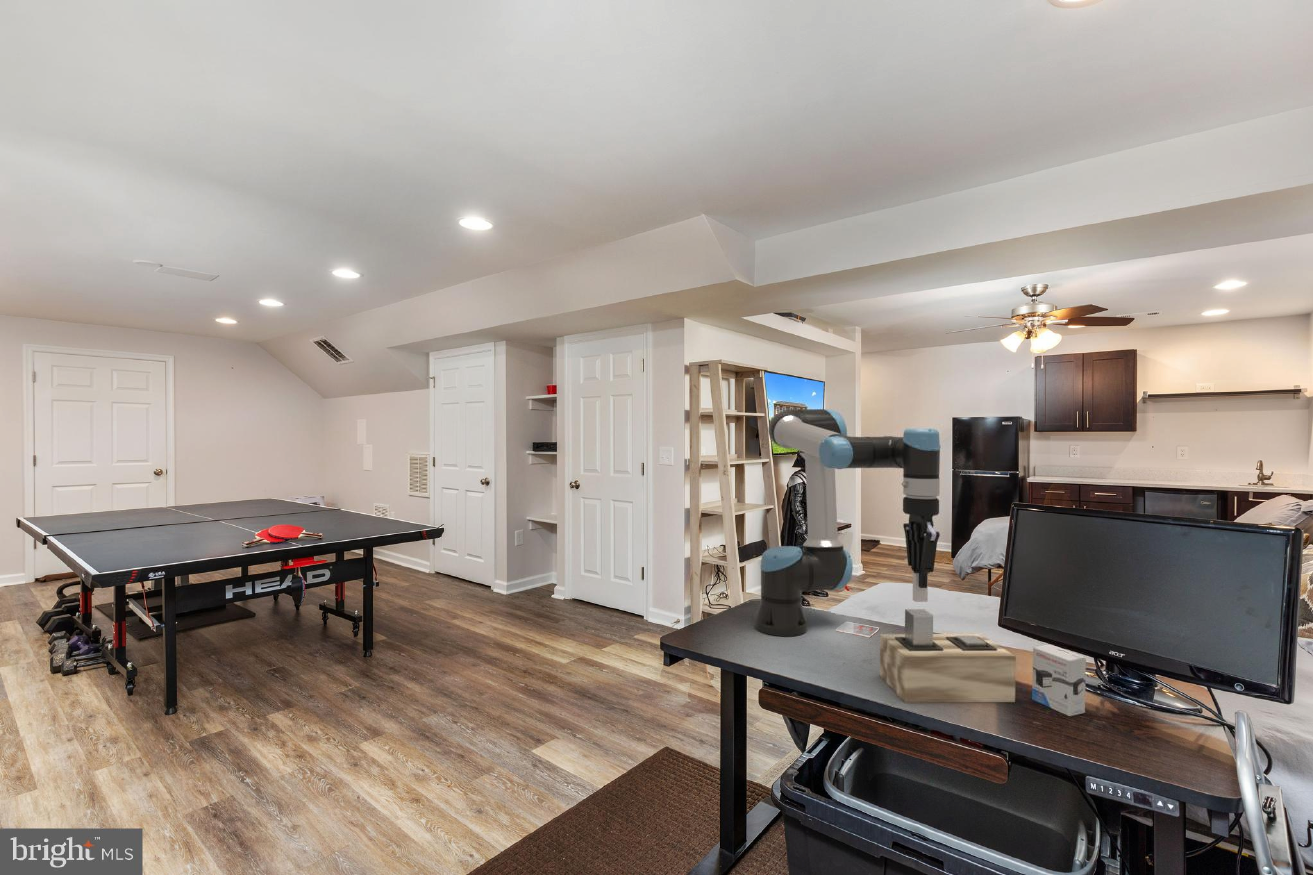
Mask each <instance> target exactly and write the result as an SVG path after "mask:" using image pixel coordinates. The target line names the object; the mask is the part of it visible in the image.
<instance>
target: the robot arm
mask: <svg viewBox="0 0 1313 875" xmlns="http://www.w3.org/2000/svg"><path fill="white" fill-rule="evenodd" d="M768 435H769V438H770V440H771V442H773V444H775V445H777V446H778V447H781V448H783V449H788V450H789V449H795V450H797V451H799V455H800V456H801V457H803V459H804V460H805V462H804V464H805V486H806V487H805V489H806V490H805V491H806V511H807V512H806V514H807V516H806V519H807V540H805V541H804V543H803V544H802V546H803V550H802V549H801V547H799V546H795V545H794V546H792V545H788V546H787V545H782V546H775V547H770V548H769V549H766V550H765V551H764V552H763V553H762V555H761V562H760V601H759V602H760V603H759V605H758V608H757V611H756V614H755V617H754V628H755V629H756V630H757V631H759V632H761V633H763V634H766V635H771V636H779V637H794V636H796V637H797V636H800V635H803V634H805V633H806V632H807V631H808V620H807V617H806V613H805V611H804V608H803V603H802V593H803V592H816V591H817V592H818V591H830V592H832V591H834V590H839V589H841V590H842V589H843V588H845V587H847V585H848V584H849V583H850V581H851V579H852V576H853V566H854V565H853V560H852V558H851V555H850V554H851V553H849V552H848V551H847V550H846V549H844V543H843V542H841V541H840V540H839V536H838V515H837V514H838V512H837V490H836V489H837V488H836V484H837V483H836V470H842V469H843V470H844V469H889V468H891V469H903V471H902V472H903V474H902V477H903V479H902V482H901V486H902V488H903V491H902V492H903V493H902V494H903V495H905V496H904V497H903V498H902V512H903V513H904V514H905V515H909V516H908V522H907V523H905V522H904V523H903V526H902V527H903V531H904V535H905V536H904V537H905V546H906V547H905V548H906V556H907V557H906V558H907V565H908V566H909V567H910V568H911V571H912V601H914V602H916V603H921V602H922V603H926V602H927V603H928V599H929V598H928V593H929V590H928V587H929V586H928V585H929V584H928V582H929V581H928V580H929V578H928V576H929V575H928V574H930V573H934V570H935V569H934V568H935V563H936V554H937V548H938V541H939V538H940V536H941V534H940V532H939V531H935V530H934V526H935V525H934V520H933V517H935V516H938V515H939V514H940V500H939V498H938V497H939V496H940V484H941V483H940V482H941V481H940V468H941V466H940V463H941V460H940V456H941V455H940V454H941V444H940V432H939V431H938V429H936V428H906V429H905V430H903V434H902V435H903V436H891V435H888V436H887V435H884V436H848V429H847V424H846V422H845V418H843V416H842V414H841V413H839V412H838V411H836V410H834V409H825V408H820V409H818V408H817V409H816V408H815V409H813V408H811V409H810V408H808V409H805V408H801V409H799V408H798V409H796V408H789V409H784V410H782V411H780V412H778V413H777V414H776V415H774V416H773V417H772V419H771V420H770V422H769V424H768Z"/></svg>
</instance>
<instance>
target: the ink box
mask: <svg viewBox="0 0 1313 875" xmlns="http://www.w3.org/2000/svg"><path fill="white" fill-rule="evenodd" d="M1086 668H1087V658H1086V657H1084V656H1083V655H1080V654H1077V653H1075V652H1073V651H1069V650H1066V649H1063V648H1061V647H1058V646H1055V645H1053V644H1043V645H1040V646H1039V645H1037V646H1034V647H1032V685H1031V686H1032V687H1031V688H1032V692H1031V694H1032V695H1031V699H1032V701H1034V702H1037V703H1039V704H1041V705H1043V706H1045V707H1047V708H1049V709H1052V710H1054V711H1057V712H1058V713H1061V714H1063V715H1066V716H1068V717H1072V716H1077V715H1081V714H1085V713H1086V678H1087V677H1086V671H1087V669H1086Z"/></svg>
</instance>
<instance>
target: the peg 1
mask: <svg viewBox="0 0 1313 875" xmlns="http://www.w3.org/2000/svg"><path fill="white" fill-rule="evenodd" d="M904 634H905V642H906V643H907V644H908V645H909V646H911V647H933V634H934V614H932V613H930V612H929V611H928V610H926V609H924V608H922V609H920V608H919V609H918V608H917V609H916V608H913V609H912V608H911V609H908V608H906V609H904Z"/></svg>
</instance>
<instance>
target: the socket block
mask: <svg viewBox="0 0 1313 875" xmlns="http://www.w3.org/2000/svg"><path fill="white" fill-rule="evenodd" d="M956 636H976V637H978V638H979V639H981V640H982V641H984V642H986V647H964V646H963V645H961V644H960V643H958V642H957V641H956ZM1016 661H1017V656H1016V655H1014V654H1013V653H1012V652H1010V651H1008V650H1007V649H1005V648H1003V647H1002V646H1000V645H999V644H997V643H995V642H994V641H993V640H991V639H989V638H987V637H986V636H984V635H982V633H933V647H911V646H909V645H908V644H907V643H906V642H905V633H880V634H879V677H881V679H882V680H883V681H884V682H885V683H886V685H888V686H889V687H890V688H891V689H892V690H893V691H894V693H896V694H897V696H898V697H899V698H900V699H901V700H902V701H903V702H904V703H906V704H907V703H908V704H909V703H913V704H914V703H915V704H916V703H1015V702H1016V671H1017V670H1016V669H1017V668H1016V664H1017V663H1016Z"/></svg>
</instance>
